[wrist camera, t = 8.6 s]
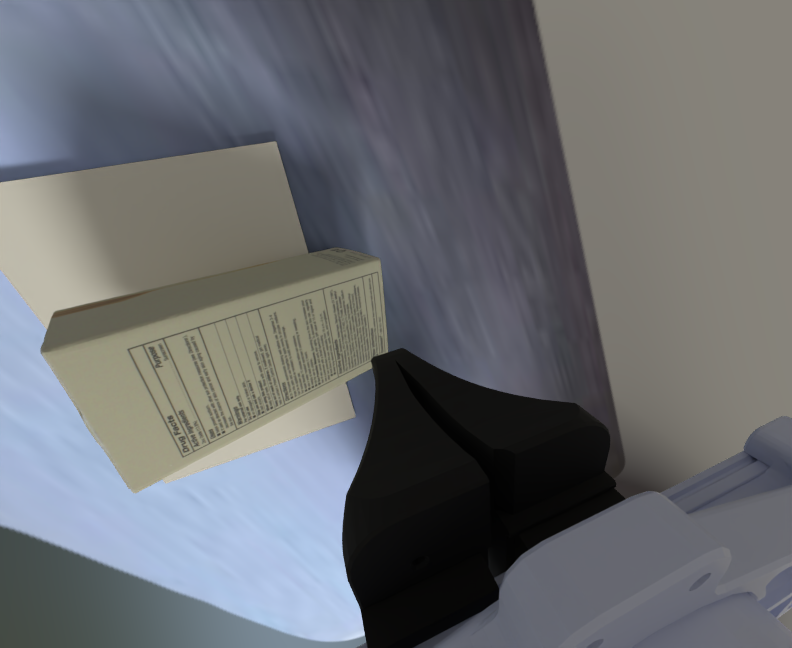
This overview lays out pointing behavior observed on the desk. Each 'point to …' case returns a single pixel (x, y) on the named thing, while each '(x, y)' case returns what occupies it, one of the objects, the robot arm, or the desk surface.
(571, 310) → the desk surface
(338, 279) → the skincare box
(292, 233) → the mat
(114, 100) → the desk surface
